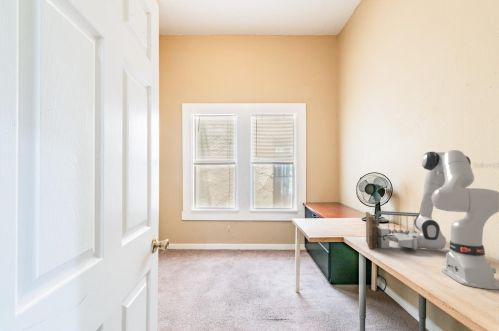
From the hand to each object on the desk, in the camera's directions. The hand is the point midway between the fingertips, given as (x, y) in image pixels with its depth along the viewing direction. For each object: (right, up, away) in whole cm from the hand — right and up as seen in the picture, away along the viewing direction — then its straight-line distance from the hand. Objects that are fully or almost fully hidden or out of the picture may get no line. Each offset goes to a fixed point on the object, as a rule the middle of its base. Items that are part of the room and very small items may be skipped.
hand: (387, 238), depth 165 cm
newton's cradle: (+20, -6, +20) cm, 28 cm away
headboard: (-9, -5, +3) cm, 10 cm away
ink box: (-3, -5, 0) cm, 6 cm away
